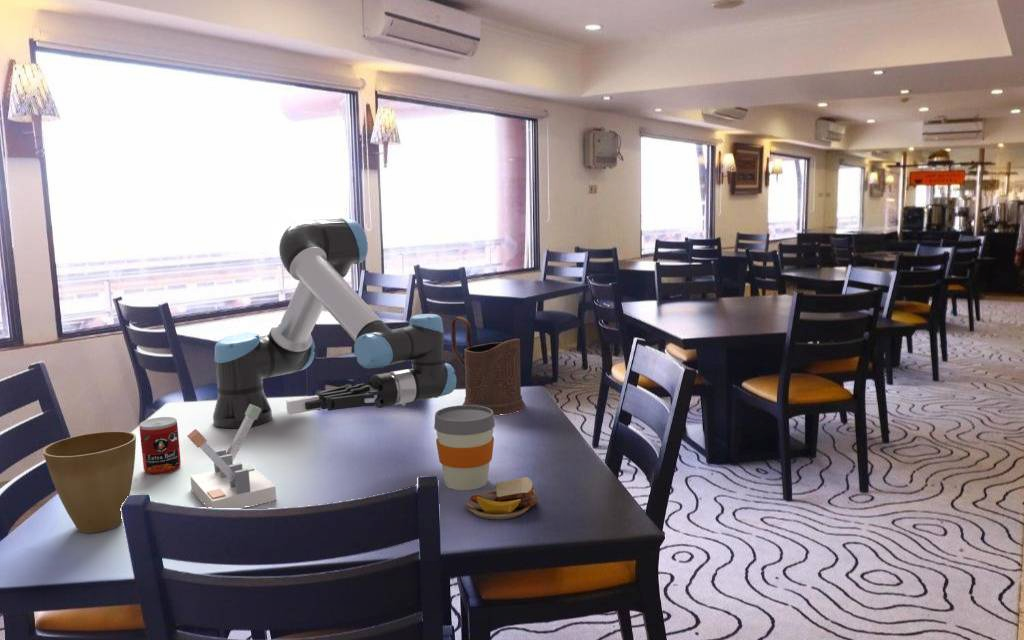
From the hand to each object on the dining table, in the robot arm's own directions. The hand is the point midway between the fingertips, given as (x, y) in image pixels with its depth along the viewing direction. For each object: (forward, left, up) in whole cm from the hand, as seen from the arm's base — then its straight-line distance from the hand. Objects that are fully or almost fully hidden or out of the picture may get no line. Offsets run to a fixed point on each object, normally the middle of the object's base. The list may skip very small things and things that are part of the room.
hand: (288, 407), depth 155 cm
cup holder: (-26, +66, -17) cm, 73 cm away
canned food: (-29, -20, -17) cm, 39 cm away
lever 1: (+3, -12, -13) cm, 17 cm away
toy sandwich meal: (+36, +28, -17) cm, 49 cm away
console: (-3, -12, -17) cm, 21 cm away
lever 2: (-8, -12, -13) cm, 19 cm away
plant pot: (-4, -36, -17) cm, 40 cm away
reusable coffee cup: (+21, +29, -17) cm, 40 cm away
